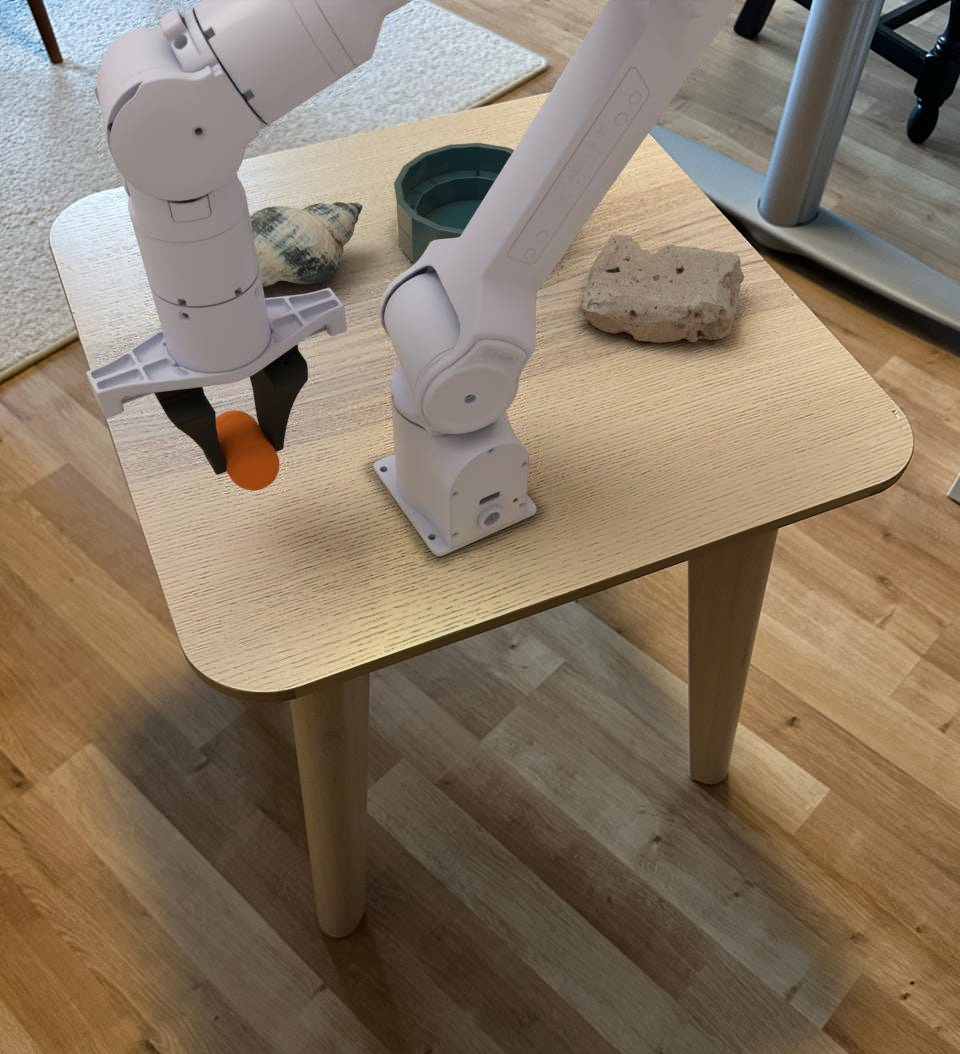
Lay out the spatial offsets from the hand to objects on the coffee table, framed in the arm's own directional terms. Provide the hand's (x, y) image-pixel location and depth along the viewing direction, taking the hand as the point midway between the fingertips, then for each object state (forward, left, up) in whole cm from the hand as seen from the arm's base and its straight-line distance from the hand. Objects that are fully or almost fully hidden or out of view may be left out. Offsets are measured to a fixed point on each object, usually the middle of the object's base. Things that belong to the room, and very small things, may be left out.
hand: (245, 451), depth 67 cm
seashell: (+24, -13, -8) cm, 28 cm away
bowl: (+21, -29, -7) cm, 37 cm away
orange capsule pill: (0, 0, -1) cm, 1 cm away
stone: (+5, -37, -8) cm, 38 cm away
